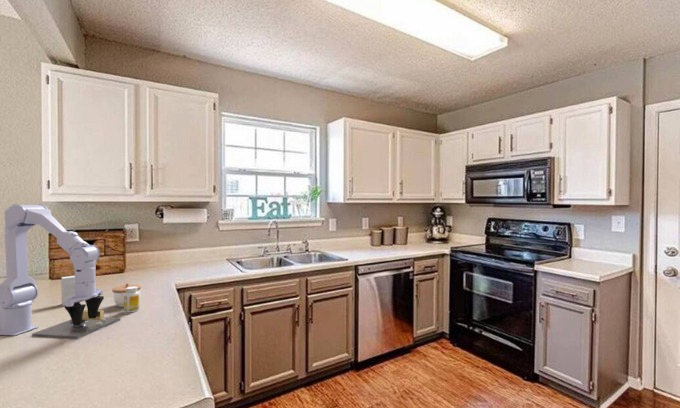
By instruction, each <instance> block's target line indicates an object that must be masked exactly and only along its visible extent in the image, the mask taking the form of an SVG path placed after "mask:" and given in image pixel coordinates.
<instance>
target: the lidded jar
mask: <svg viewBox="0 0 680 408" xmlns="http://www.w3.org/2000/svg"><path fill="white" fill-rule="evenodd" d="M134 286H135V287H137V292H139V299H140V298H141V295H142V294H141V293H142V285H141V284H129V283H125V285H119V286H115V287H113V288H112V289H111V291H112V299H113V301H114V303H115V304H116V305H117V306H118V307H120V308H124V294H125V293H127V292H126V288H127V287H134Z"/></svg>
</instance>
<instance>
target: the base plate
mask: <svg viewBox="0 0 680 408" xmlns="http://www.w3.org/2000/svg"><path fill="white" fill-rule="evenodd" d="M70 320H71V319H69V320H66V321H63V322H61V323H58V324H55V325H52V326H50V327H47V328H45V329H41V330H39V331H35V332H33V333H31V336H32V337H42V338H45V337H46V338H56V339H57V338H59V339H60V338H61V339H71V340H72V339H73V340H77V339H80V338H83V337H84V336H88V335H90V334H92V333H94V332H96V331H98V330H101V329H103V328H105V327H109V326H110V325H112V324H115V323H117V322H120V321H121V317H105V316H104V318H103V319H101V320H88V321H86V322H84V323H81V325H79V326H74V325H73V324H70Z"/></svg>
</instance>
